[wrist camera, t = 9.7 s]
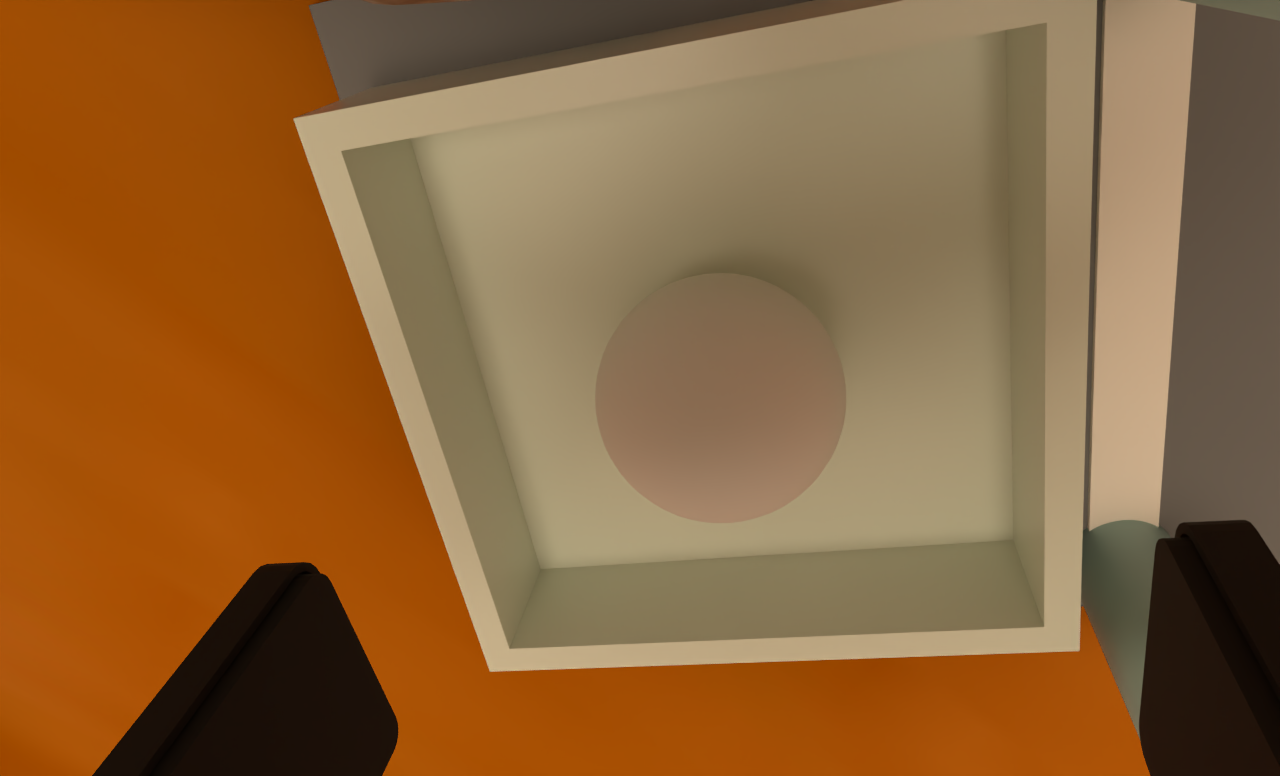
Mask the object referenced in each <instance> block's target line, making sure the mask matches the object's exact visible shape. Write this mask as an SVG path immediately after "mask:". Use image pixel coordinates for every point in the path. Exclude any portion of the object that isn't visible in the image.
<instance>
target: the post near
mask: <svg viewBox="0 0 1280 776" xmlns="http://www.w3.org/2000/svg"><path fill="white" fill-rule="evenodd" d="M1180 1H1185V2H1190V3H1195V4H1200V5H1205V6H1210V7H1215V8H1220V9H1225V10H1230V11H1234V12H1239V13H1244V14H1249V15H1254V16H1259V17H1264V18H1269V19H1274V20H1279V21H1280V0H1180Z"/></svg>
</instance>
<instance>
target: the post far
mask: <svg viewBox="0 0 1280 776" xmlns="http://www.w3.org/2000/svg"><path fill="white" fill-rule="evenodd" d="M1161 538H1171V537H1170V535H1169V533H1168V532H1167V531H1166V530H1165V529H1164V528H1163V527H1161V526H1160V525H1159V527H1158V526H1155V525H1153V524H1151V523H1147V522H1143V521H1138V520H1120V521H1114V522H1109V523H1106V524H1103V525H1101V526H1098V527H1096V528H1094V529H1092V530H1091V531H1089V530H1088V528H1086V529H1084V530H1083V540H1082V577H1081V601H1082V603H1083V606H1084V608H1085V610H1086V613H1087V615H1088V618H1089V620H1090V622H1091V625H1092V627H1093V629H1094V632H1095V634H1096V636H1097V639H1098V641H1099V643H1100V646H1101V648H1102V651H1103V653H1104V655H1105V658H1106V660H1107V662H1108V665H1109V667H1110V669H1111V672H1112V674H1113V676H1114V679H1115V681H1116V684H1117V686H1118V688H1119V691H1120V693H1121V695H1122V698H1123V700H1124V702H1125V705H1126V707H1127V709H1128V712H1129V714H1130V717H1131V719H1132V721H1133V724H1134V726H1135V728H1136V731H1137V733H1138V735H1139V738H1140V733H1139V715H1140V705H1141V694H1142V683H1143V673H1144V662H1145V651H1146V641H1147V630H1148V619H1149V609H1150V598H1151V587H1152V577H1153V566H1154V555H1155V547H1156V543H1157V541H1158V539H1161Z"/></svg>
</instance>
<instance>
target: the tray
mask: <svg viewBox="0 0 1280 776" xmlns="http://www.w3.org/2000/svg"><path fill="white" fill-rule="evenodd" d="M1096 20H1097V0H813V1H808V2H803V3H798V4H793V5H788V6H783V7H778V8H772V9H767V10H762V11H757V12H752V13H747V14H742V15H737V16H732V17H727V18H722V19H717V20H712V21H707V22H702V23H697V24H692V25H687V26H681V27H676V28H671V29H666V30H661V31H656V32H651V33H646V34H641V35H636V36H631V37H626V38H621V39H616V40H611V41H606V42H601V43H596V44H590V45H585V46H580V47H575V48H570V49H565V50H560V51H555V52H550V53H545V54H540V55H535V56H530V57H525V58H520V59H515V60H510V61H505V62H499V63H494V64H489V65H484V66H479V67H474V68H469V69H464V70H459V71H454V72H449V73H444V74H439V75H434V76H429V77H424V78H419V79H414V80H408V81H403V82H398V83H393V84H388V85H383V86H378V87H373V88H370V89H367V90H365V91H362V92H360V93H357V94H355V95H352V96H349V97H347V98H344V99H342V100H339V101H337V102H334V103H332V104H329V105H327V106H324V107H321V108H319V109H316V110H314V111H311V112H309V113H306V114H304V115H301V116H299V117H296V118H293V119H294V122H295V125H296V128H297V131H298V133H299V136H300V139H301V142H302V145H303V147H304V150H305V153H306V156H307V159H308V162H309V164H310V167H311V170H312V173H313V176H314V178H315V181H316V184H317V187H318V190H319V192H320V195H321V198H322V201H323V204H324V206H325V209H326V212H327V215H328V218H329V221H330V223H331V226H332V229H333V232H334V235H335V237H336V240H337V243H338V246H339V249H340V251H341V254H342V257H343V260H344V263H345V265H346V268H347V271H348V274H349V277H350V280H351V282H352V285H353V288H354V291H355V294H356V296H357V299H358V302H359V305H360V308H361V310H362V313H363V316H364V319H365V322H366V324H367V327H368V330H369V333H370V336H371V339H372V341H373V344H374V347H375V350H376V353H377V355H378V358H379V361H380V364H381V367H382V369H383V372H384V375H385V378H386V381H387V383H388V386H389V389H390V392H391V395H392V398H393V400H394V403H395V406H396V409H397V412H398V414H399V417H400V420H401V423H402V426H403V428H404V431H405V434H406V437H407V440H408V442H409V445H410V448H411V451H412V454H413V457H414V459H415V462H416V465H417V468H418V471H419V473H420V476H421V479H422V482H423V485H424V487H425V490H426V493H427V496H428V499H429V501H430V504H431V507H432V510H433V513H434V516H435V518H436V521H437V524H438V527H439V530H440V532H441V535H442V538H443V541H444V544H445V546H446V549H447V552H448V555H449V558H450V560H451V563H452V566H453V569H454V572H455V574H456V577H457V580H458V583H459V586H460V589H461V591H462V594H463V597H464V600H465V603H466V605H467V608H468V611H469V614H470V617H471V619H472V622H473V625H474V628H475V631H476V633H477V636H478V639H479V642H480V645H481V648H482V650H483V653H484V656H485V659H486V662H487V664H488V667H489V670H490V672H492V671H520V670H549V669H578V668H606V667H635V666H663V665H692V664H721V663H749V662H778V661H807V660H835V659H864V658H893V657H921V656H950V655H978V654H1007V653H1036V652H1064V651H1080V614H1081V577H1082V540H1083V503H1084V466H1085V428H1086V391H1087V354H1088V317H1089V280H1090V243H1091V205H1092V168H1093V131H1094V94H1095V57H1096ZM712 273H731V274H739V275H745V276H751V277H754V278H757V279H760V280H763V281H766V282H768V283H771V284H773V285H775V286H777V287H779V288H781V289H783V290H784V291H786V292H787V293H789V294H791V295H792V296H794V297H795V298H796V299H798V300H799V301H800V302H801V303H803V304H804V305H805V306H806V307H807V308H808V309H809V310H810V311H811V312H812V313H813V314H814V315H815V316H816V317H817V318H818V320H819V321H820V322H821V324H822V325H823V327H824V328H825V329H826V331H827V333H828V334H829V336H830V338H831V340H832V342H833V343H834V345H835V347H836V349H837V352H838V355H839V358H840V361H841V364H842V368H843V373H844V378H845V384H846V412H845V419H844V425H843V428H842V432H841V435H840V439H839V442H838V444H837V447H836V449H835V451H834V453H833V455H832V458H831V459H830V461H829V462H828V464H827V465H826V467H825V468H824V470H823V471H822V473H821V474H820V476H819V477H818V478H817V479H816V480H815V481H814V483H813V484H812V485H811V486H810V487H809V488H808V489H806V490H805V491H804V492H803V493H802V494H801V495H800V496H798V497H797V498H796V499H794V500H793V501H791V502H790V503H788V504H787V505H785V506H784V507H782V508H780V509H778V510H776V511H774V512H772V513H769V514H767V515H764V516H761V517H758V518H755V519H750V520H746V521H742V522H734V523H708V522H700V521H695V520H690V519H687V518H683V517H680V516H677V515H675V514H672V513H670V512H668V511H666V510H664V509H662V508H660V507H658V506H657V505H655V504H653V503H652V502H650V501H649V500H648V499H646V498H645V497H644V496H642V495H641V494H640V493H639V492H637V491H636V490H635V489H634V488H633V487H632V486H631V485H630V484H629V483H628V482H627V481H626V479H625V478H624V477H623V476H622V475H621V473H620V472H619V470H618V469H617V467H616V466H615V464H614V463H613V461H612V459H611V458H610V456H609V454H608V452H607V450H606V448H605V446H604V443H603V440H602V437H601V434H600V430H599V426H598V421H597V416H596V404H595V389H596V381H597V374H598V370H599V367H600V363H601V360H602V356H603V353H604V351H605V349H606V346H607V344H608V342H609V340H610V338H611V337H612V335H613V334H614V332H615V330H616V329H617V327H618V326H619V324H620V323H621V321H622V320H623V319H624V318H625V317H626V316H627V314H628V313H629V312H630V311H631V310H632V309H633V308H634V307H636V306H637V305H638V304H639V303H640V302H641V301H642V300H644V299H645V298H646V297H648V296H649V295H651V294H652V293H654V292H655V291H657V290H658V289H660V288H662V287H664V286H666V285H668V284H670V283H673V282H676V281H679V280H682V279H685V278H688V277H692V276H697V275H702V274H712Z"/></svg>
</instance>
